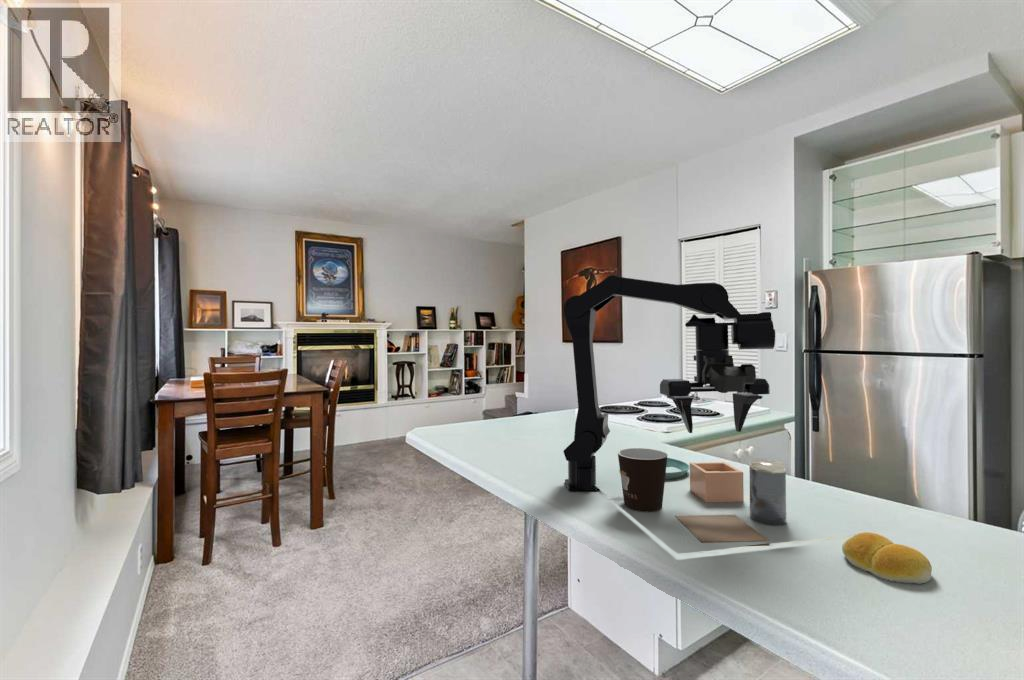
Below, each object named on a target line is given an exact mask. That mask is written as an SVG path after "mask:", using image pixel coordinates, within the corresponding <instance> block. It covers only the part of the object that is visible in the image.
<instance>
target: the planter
mask: <svg viewBox="0 0 1024 680" xmlns="http://www.w3.org/2000/svg"><path fill="white" fill-rule="evenodd" d="M707 471H720V472H707ZM689 491H691V492H692V493H693V494H695V495H696V496H698V497H699V498H700V499H701V500H702V501H703V502H705V503H726V502H727V503H728V502H729V503H731V502H732V503H733V502H734V503H735V502H737V503H738V502H744V500H745V499H744V495H745V493H744V491H745V489H744V471H742V470H740V469H738V468H736V467H735V466H733V465H730V464H729V463H727V462H725V461H720V462H719V461H715V462H712V461H711V462H710V461H709V462H689Z"/></svg>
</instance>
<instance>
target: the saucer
mask: <svg viewBox="0 0 1024 680" xmlns="http://www.w3.org/2000/svg"><path fill="white" fill-rule="evenodd" d="M666 468H676V469H678V470H680V471H674V472H666V475H665V480H670V479H671V480H673V479H678V478H681V477H683V476H684V475H685V474H687V472H688V471H689V470H690V464H688V463H687V462H685V461H682V460H680V459H675V458H671V457H667V465H666Z"/></svg>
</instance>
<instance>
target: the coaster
mask: <svg viewBox="0 0 1024 680" xmlns="http://www.w3.org/2000/svg"><path fill="white" fill-rule="evenodd" d="M675 518H676V519H678V521H680V523H681V524H682V525H683V526H685V528H687V530H688V531H689V532H690V533H691V534H692V535H693V536H694V537H695V538H697V540H698V541H700V543H703V544H706V543H740V542H741V543H742V542H743V543H745V542H747V543H749V542H750V543H751V542H752V543H753V542H755V543H756V542H767V543H758V544H750V545H747V547H765V546H766V547H767V546H770V539H768V538H766V537H765V536H764V535H763V534H761V533H760V532H759V531H757V530H756V529H754V528H753V527H752V526H751V525H750V524H748V523H747V522H746V521H744V520H742V519H741V518H740V517H738V516H737V515H736V514H706V515H705V514H697V515H695V514H694V515H690V514H689V515H675Z"/></svg>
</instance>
